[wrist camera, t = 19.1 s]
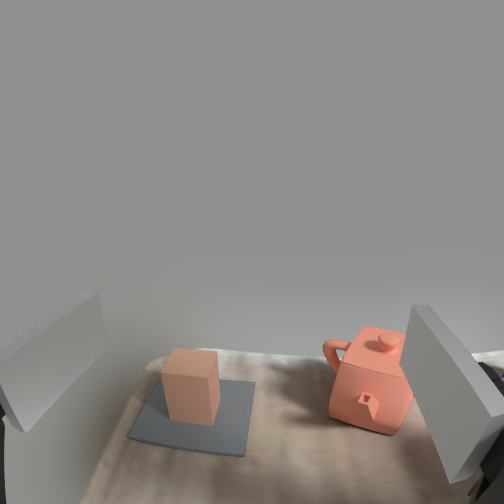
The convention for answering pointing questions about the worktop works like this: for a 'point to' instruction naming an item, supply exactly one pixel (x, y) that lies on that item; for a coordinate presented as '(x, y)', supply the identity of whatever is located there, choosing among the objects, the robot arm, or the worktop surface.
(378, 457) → the worktop surface
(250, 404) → the mat
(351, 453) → the worktop surface
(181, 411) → the block
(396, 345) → the teapot
